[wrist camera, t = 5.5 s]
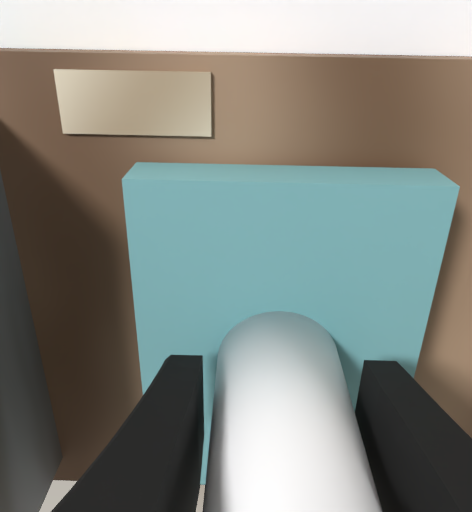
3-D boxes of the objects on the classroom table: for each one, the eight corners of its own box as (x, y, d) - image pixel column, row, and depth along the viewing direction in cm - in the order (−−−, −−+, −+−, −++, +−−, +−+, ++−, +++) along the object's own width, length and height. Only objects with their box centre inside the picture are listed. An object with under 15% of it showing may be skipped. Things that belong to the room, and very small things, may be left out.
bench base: (25, 436, 15) (-83, 632, 10) (-76, 46, 10) (-399, 58, 5) (562, 453, 15) (720, 662, 10) (746, 61, 10) (1273, 89, 5)
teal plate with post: (159, 444, 13) (72, 848, 6) (136, 162, 9) (-108, 440, 3) (374, 451, 13) (501, 868, 6) (435, 168, 9) (859, 471, 3)
